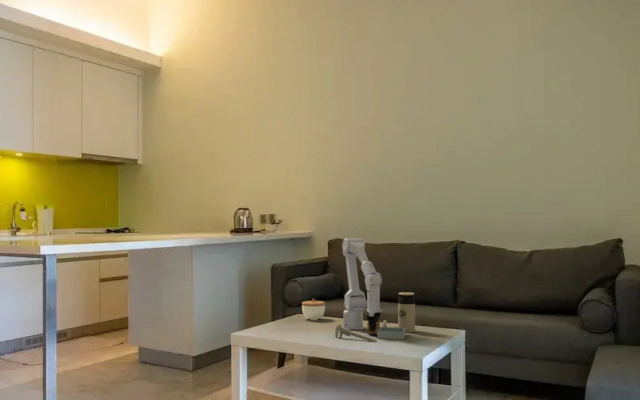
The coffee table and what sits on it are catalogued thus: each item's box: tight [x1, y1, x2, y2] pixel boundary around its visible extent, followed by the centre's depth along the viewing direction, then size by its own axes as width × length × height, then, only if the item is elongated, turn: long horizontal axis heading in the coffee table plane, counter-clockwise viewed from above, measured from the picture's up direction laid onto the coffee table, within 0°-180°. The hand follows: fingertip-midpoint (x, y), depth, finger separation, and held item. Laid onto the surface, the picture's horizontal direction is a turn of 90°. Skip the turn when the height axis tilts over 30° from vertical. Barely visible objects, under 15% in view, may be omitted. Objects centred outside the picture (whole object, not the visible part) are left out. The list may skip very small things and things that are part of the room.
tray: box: [376, 326, 407, 340], centre depth 254 cm, size 12×12×3 cm
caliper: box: [334, 323, 378, 343], centre depth 247 cm, size 20×1×6 cm, turn 60°
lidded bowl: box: [301, 298, 326, 321], centre depth 302 cm, size 13×13×11 cm
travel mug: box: [397, 291, 416, 333], centre depth 268 cm, size 8×8×18 cm
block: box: [366, 320, 381, 335], centre depth 259 cm, size 5×5×5 cm
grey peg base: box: [382, 319, 388, 327], centre depth 267 cm, size 8×8×5 cm
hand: (373, 329), depth 258 cm, fingers closed on block, 5 cm apart
